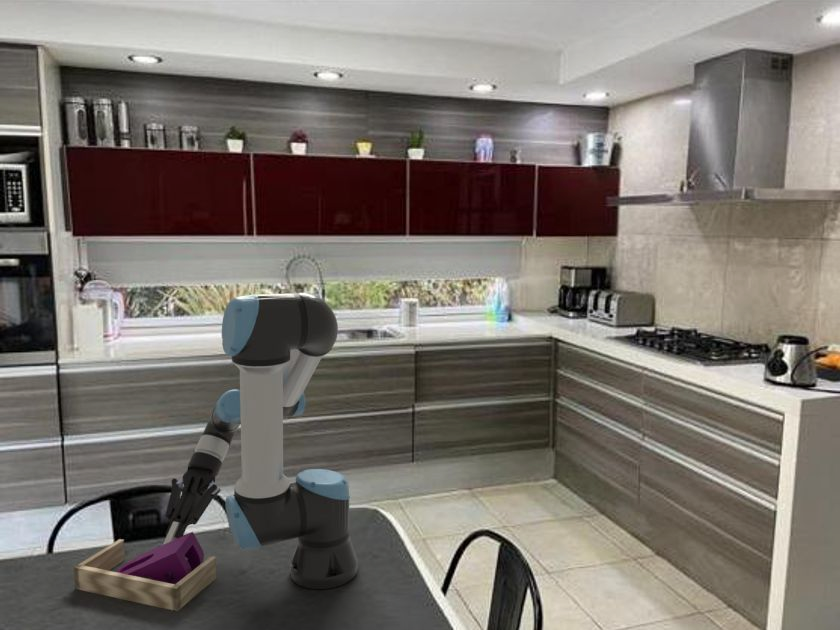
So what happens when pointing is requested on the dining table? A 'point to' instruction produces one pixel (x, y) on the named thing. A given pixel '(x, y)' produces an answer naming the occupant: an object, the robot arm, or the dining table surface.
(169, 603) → the birch bay
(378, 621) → the dining table surface
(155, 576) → the mounting bracket
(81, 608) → the dining table surface
